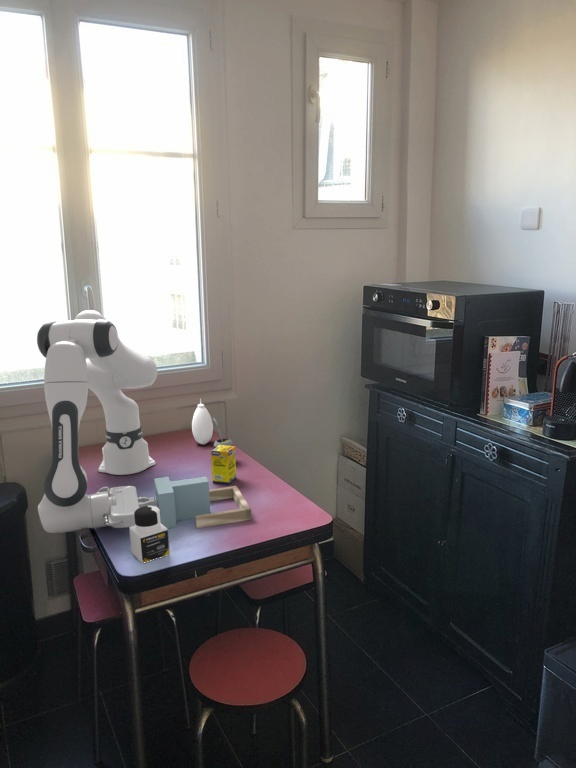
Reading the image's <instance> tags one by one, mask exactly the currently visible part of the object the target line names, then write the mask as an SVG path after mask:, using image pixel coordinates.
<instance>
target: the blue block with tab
mask: <svg viewBox="0 0 576 768" xmlns="http://www.w3.org/2000/svg"><path fill="white" fill-rule="evenodd" d="M153 480H154V491H155V492H154V493H155V500H156V507H157V508H159V510H160V521H161V524H162V525H164V526H165V527H166V528H167V529H171V528H172V527H173V528H177V521H182V520H188V519H194V518H195V516H197V515H203V514H210V513H211V501H210V498H209V490H210V486H209V480H208V478H207V476H202V477H201V476H200V477H193V478H186V479H179V480H172V481H171V480H170V477H169V476H164V477H162V476H161V477H157V478H154V479H153Z"/></svg>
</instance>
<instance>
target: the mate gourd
mask: <svg viewBox="0 0 576 768" xmlns="http://www.w3.org/2000/svg"><path fill="white" fill-rule="evenodd" d="M212 421H214V423H215V424H216V428H217V430H218V434H219V437H220V438H218V439H216V440H215V441H214V443H213V449H214V448H216V447H217V446H218V445H226V446H235V445H234V442H233V441H232V440H231V439H230V438H225V437H223V436H222V433H221V429H220V424H219V422H218V421H217V420H216V419H215V417H212ZM213 449H212V450H213Z"/></svg>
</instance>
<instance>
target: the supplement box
mask: <svg viewBox="0 0 576 768" xmlns="http://www.w3.org/2000/svg"><path fill="white" fill-rule="evenodd" d="M210 455H211V456H210V457H211V458H210V459H211V472H212V475H211V476H212V484H222V485H229V486H230V484H231V483H232V482H233V481H235V480H236V479H237V464H236V463H237V461H236V446H235V445H234V446H226V445H218V446H217V447H216V448H214V449H211V450H210Z"/></svg>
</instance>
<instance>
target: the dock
mask: <svg viewBox="0 0 576 768" xmlns="http://www.w3.org/2000/svg"><path fill="white" fill-rule="evenodd" d="M209 498H210V502H213V501H221V500H227V499H228V500H229V499H233V500H234V502H235V504H236V506H237V507H238V508H237V509H236V508H235V509H230V510H224V511H223V510H222V511H215V512H210V514H203V515H197V516H195V528H196V529H203V528H208V527H212V526H213V527H215V526H220V525H226V524H232V523H239V522H245V521H251V520H252V509H251V507H250V506H249V504H248V502H247V501H246V499H245V498H244V496H243V494H242V493H241V491H240V489H239V488H238V486H237V485H233V486H227V487H226V486H225V487H219V488H212V489H209Z"/></svg>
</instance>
